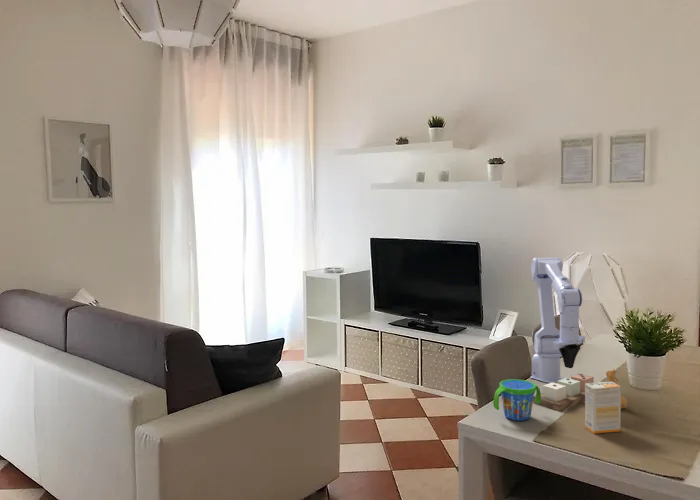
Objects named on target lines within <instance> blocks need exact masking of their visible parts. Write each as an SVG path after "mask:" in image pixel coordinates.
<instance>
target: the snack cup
mask: <svg viewBox="0 0 700 500" xmlns="http://www.w3.org/2000/svg"><path fill="white" fill-rule="evenodd" d="M541 393H542V392H541V389H540V388H539V386H538V385H537V384H535V383H534V382H532V381H529V380H525V379H517V378H514V379H513V378H510V379H503V380H501V381H500V382H499V386H498V387H497V389H496V390H495V392H494V396H493V401H492V404H493V408H494V410H497V411H500V405H499V404H500V402H499V399H500V395H501V400H502V408H503V409H502V410H503V413H504V417H506V419H509V420H512V421H518V422H520V421H521V422H523V421H527V420H530V418H531V416H532V410H533V404H534V403H533V396H535V395H536V397H535V402H536V403H538V404H537V405H539V404H540V403H541ZM536 403H535V404H536Z"/></svg>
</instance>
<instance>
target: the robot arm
mask: <svg viewBox="0 0 700 500" xmlns="http://www.w3.org/2000/svg"><path fill="white" fill-rule="evenodd" d="M530 270H531V271H530V273H531V279H532V282H534V283H536V285H537V292H538V303H539V314H540V324H541V327H540V329H539V330H538V331H536V332H535V334H534V341H533V347H534V352H535V353H534V354H533V355H532V359H531V375H530V376H529V378H530V379H533V380H537V381H540V382H544V383H546V384H549V383H552V382H553V383H557V381H559V380H562V379H565V378H566V377H562V376H561V358H562V360H563V364H564V365H563V366H564V367H565V368H568V369H572V368H574V364H575V361H576V357H577V355H578V353H579V352H580V350H581V345H580V344H582V343H583V344H584V343H586V336H584V335H580V334H579V332H580V331H579V330H580V326H579V324H580V307H582V304H583V294H582V291H581V289H580V288H577V287H574V285H573V283H572V282H571V281H570V279H569V278H568V277H567V276H565V275H564V274H563V260H562V259H561V258H560V257H559V256H557V257H533V259H531V263H530ZM552 288H553V289H552ZM553 290H554V292H555V293H556V297H557V305H558V312H559V329H558V328H557V327H556V320H555V318H556V317H555V308H554V298H553Z"/></svg>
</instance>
